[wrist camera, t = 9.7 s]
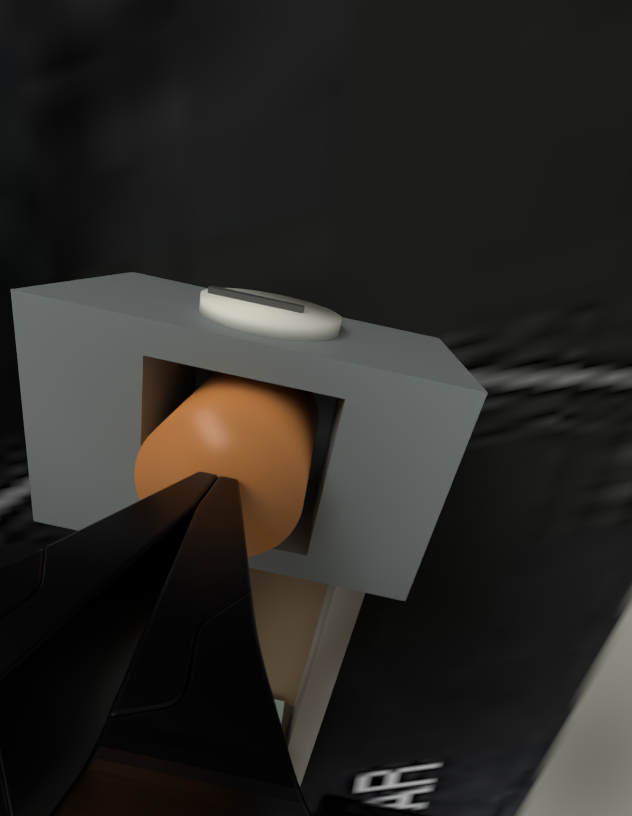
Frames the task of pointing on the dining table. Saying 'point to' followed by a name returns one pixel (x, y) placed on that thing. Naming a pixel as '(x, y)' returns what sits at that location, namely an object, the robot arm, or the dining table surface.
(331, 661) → the rail board
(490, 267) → the dining table surface
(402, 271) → the dining table surface
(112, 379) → the cabinet
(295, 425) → the button
